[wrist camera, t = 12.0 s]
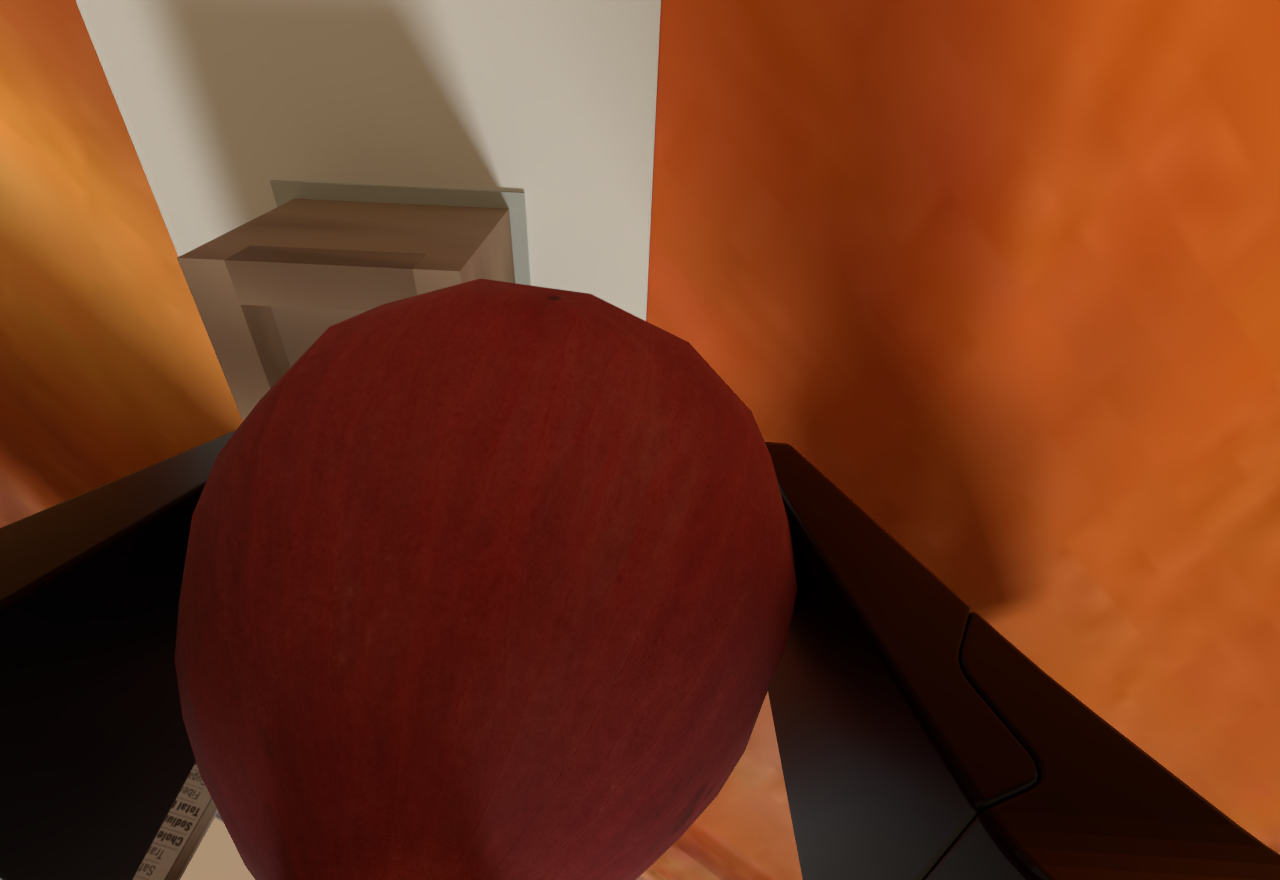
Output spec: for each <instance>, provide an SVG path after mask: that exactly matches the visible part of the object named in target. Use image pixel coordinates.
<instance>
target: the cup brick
mask: <svg viewBox="0 0 1280 880" xmlns="http://www.w3.org/2000/svg"><path fill="white" fill-rule="evenodd" d="M177 259H178V261H179V264H180V266H181V269H182V271H183V274H184V276H185V279H186V281H187V284H188V286H189V289H190V291H191V293H192V296H193V298H194V301H195V303H196V306H197V308H198V311H199V313H200V316H201V318H202V321H203V323H204V326H205V328H206V331H207V333H208V336H209V338H210V340H211V343H212V345H213V348H214V350H215V353H216V355H217V358H218V360H219V363H220V365H221V368H222V370H223V373H224V375H225V378H226V380H227V383H228V385H229V387H230V390H231V392H232V395H233V397H234V400H235V402H236V405H237V407H238V410H239V412H240V415H241V417H242V420H243V421H244V420H245V419H246V417H247V416H248V415H249V413H250V412H251V411H252V410H253V408H254V407H255V406H256V404H257V403H258V402H259V401H260V399H261V398H262V397H263V396H264V395H265V394H266V393H267V392H268V391H269V390H270V389H271V388H272V387H273V386H274V385H275V384H276V383H277V381H278V380H279V379H280V378H281V377H282V376H283V375H284V374H285V373H286V372H287V371H288V370H289V369H290V368H291V367H292V366H293V365H294V363H295V362H296V361H297V360H298V359H299V358H300V357H301V356H302V355H303V354H304V353H305V352H306V351H307V350H308V349H309V348H310V347H311V346H312V344H313V343H314V342H315V341H316V340H317V339H318V338H319V337H320V336H321V335H322V334H323V333H324V332H325V331H326V330H327V329H328V328H329V327H330V326H332V325H335V324H337V323H340V322H342V321H344V320H347V319H349V318H351V317H354V316H356V315H359V314H361V313H363V312H366V311H368V310H371V309H373V308H375V307H378V306H380V305H382V304H386V303H390V302H394V301H397V300H401V299H405V298H409V297H413V296H416V295H420V294H424V293H428V292H431V291H435V290H439V289H443V288H446V287H450V286H454V285H458V284H462V283H465V282H469V281H473V280H477V279H487V280H495V281H502V282H509V283H515V274H514V262H513V250H512V238H511V226H510V214H509V209H503V208H482V207H461V206H440V205H418V204H397V203H376V202H355V201H334V200H313V199H293V200H291V201H289V202H287V203H285V204H283V205H281V206H279V207H277V208H275V209H273V210H271V211H269V212H267V213H265V214H263V215H261V216H259V217H257V218H255V219H253V220H251V221H249V222H247V223H245V224H243V225H241V226H239V227H237V228H235V229H233V230H231V231H229V232H227V233H225V234H223V235H221V236H219V237H217V238H215V239H213V240H211V241H209V242H207V243H205V244H203V245H201V246H199V247H197V248H195V249H194V250H192V251H190V252H188V253H186V254H184V255H182V256H180V257H178V258H177Z"/></svg>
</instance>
